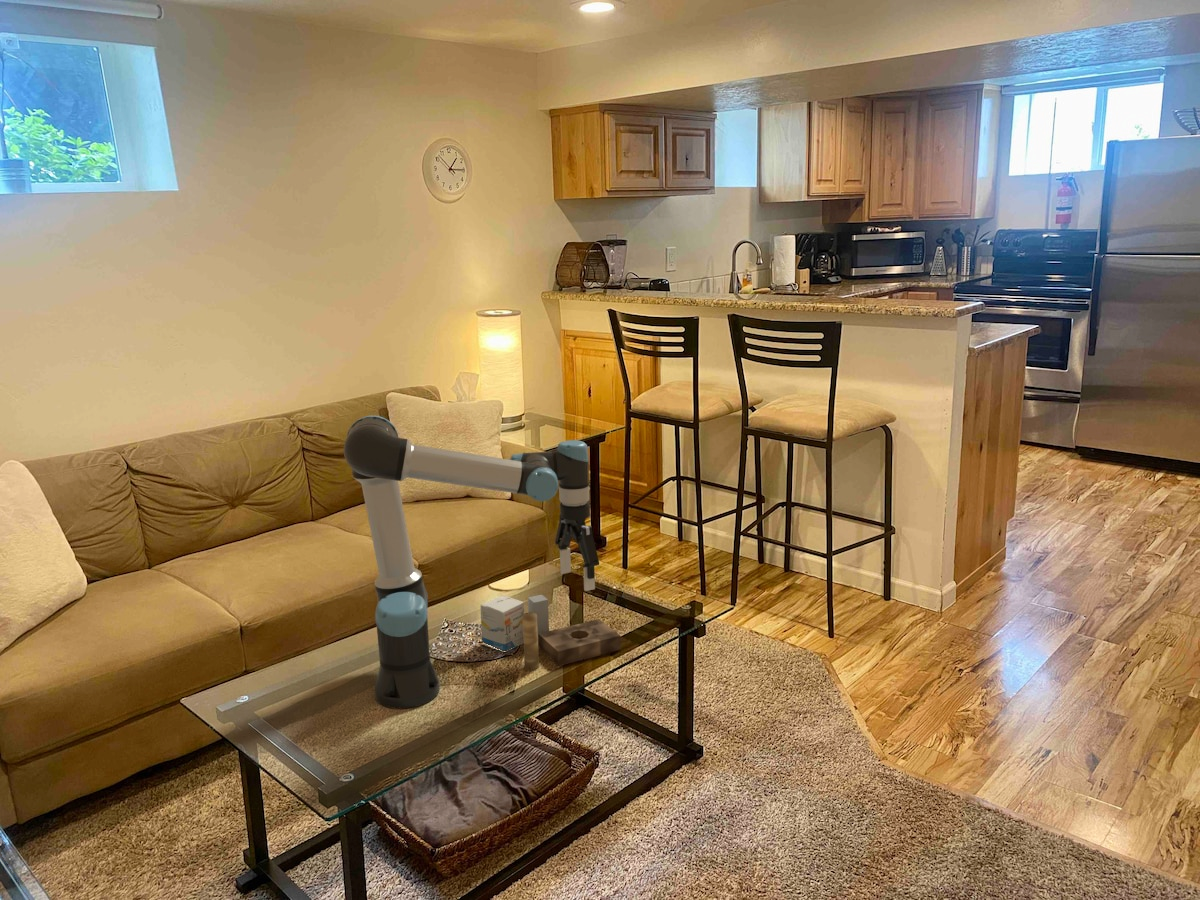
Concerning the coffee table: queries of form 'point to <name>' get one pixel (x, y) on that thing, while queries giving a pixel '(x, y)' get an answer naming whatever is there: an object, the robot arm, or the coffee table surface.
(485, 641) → the ink box
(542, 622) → the square peg
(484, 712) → the coffee table surface
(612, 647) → the socket block
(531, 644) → the oak dowel
